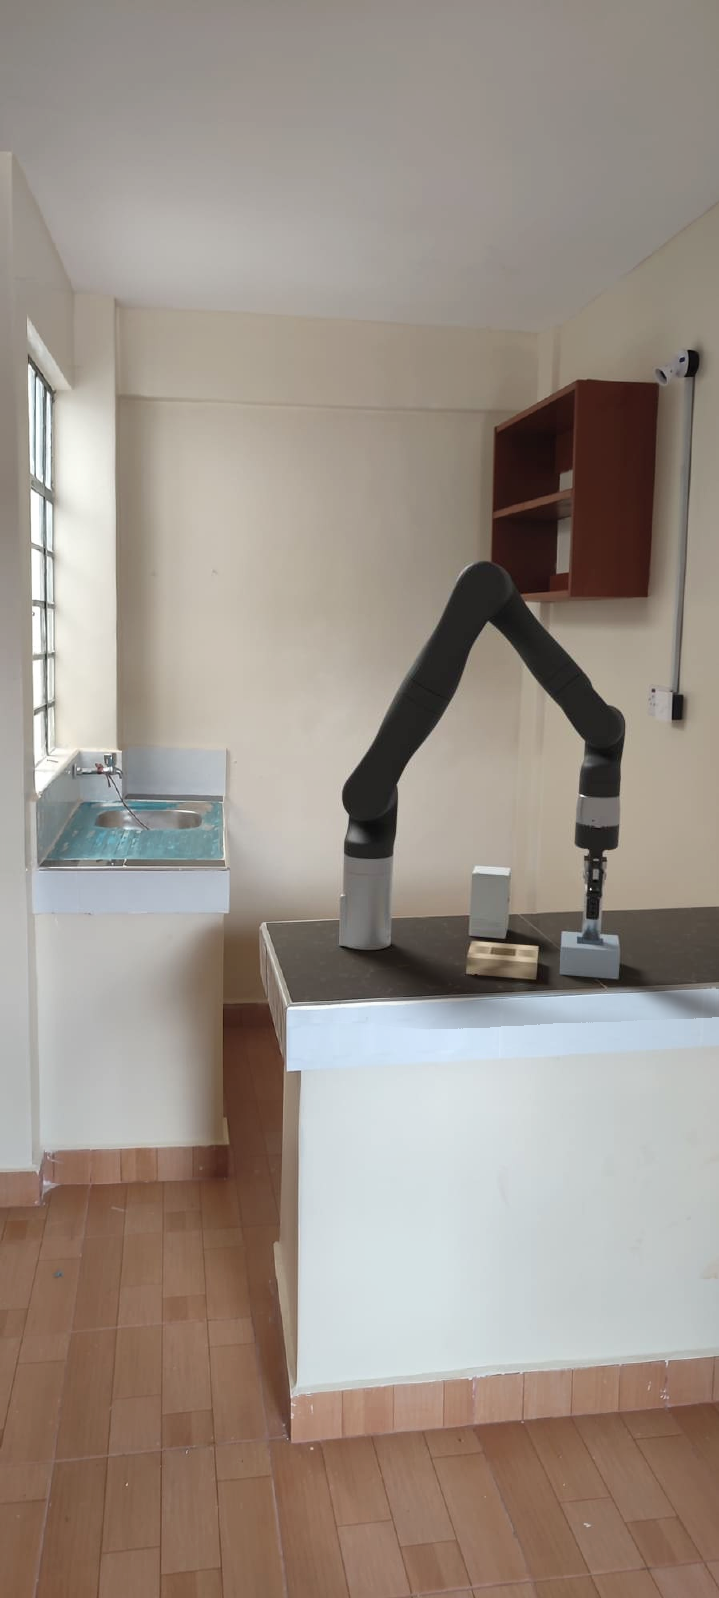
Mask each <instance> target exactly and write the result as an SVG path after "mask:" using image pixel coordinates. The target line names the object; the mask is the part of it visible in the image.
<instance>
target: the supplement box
mask: <svg viewBox="0 0 719 1598" xmlns="http://www.w3.org/2000/svg"><path fill="white" fill-rule="evenodd" d="M511 878H512V868H511V867H502V866H487V865H486V866H484V865H483V866H482V865H475V866H474V867H473V870H472V873H471V884H470V904H469V926H468V936H470V937H480V938H493V939H503V940H504V939H506V936H507V932H508V929H509V916H510V898H511V897H510V896H511Z"/></svg>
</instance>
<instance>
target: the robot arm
mask: <svg viewBox="0 0 719 1598" xmlns="http://www.w3.org/2000/svg"><path fill="white" fill-rule="evenodd" d="M441 613H442V614H441V616H440V617H439V620H438V622H437V624H436V626H435V627H434V629H433V631H432V632H431V634H430V635H429V637H428V639H427V640H426V642H425V643H424V645H423V646H422V647H421V649H420V651H419V653H418V654H417V657H415V659H414V661H413V663H412V665H411V666H410V668H409V670H408V671H407V673H406V674H405V677H404V678H403V680H402V682H401V683H400V685H399V687H398V689H397V691H396V693H395V695H394V697H393V699H392V701H391V703H390V705H389V707H388V709H387V711H386V713H385V715H384V717H383V720H382V722H381V724H380V726H379V728H378V730H377V733H376V735H375V738H374V739H373V741H372V743H371V744H370V746H369V748H368V750H367V751H366V753H365V754H364V756H363V757H362V758H361V760H360V761H359V763H358V764H357V766H355V768H354V770H353V771H352V772H351V774H350V775H349V776H348V778H347V780H345V783H344V785H343V787H342V791H341V801H342V807H343V808H344V810H345V812H346V813H347V815H348V822H347V823H348V824H347V830H346V834H345V836H344V840H343V872H342V873H343V875H342V876H343V877H342V879H343V880H342V894H341V895H340V896H339V923H338V924H339V925H338V926H339V927H338V928H339V930H338V931H339V932H338V933H339V934H338V939H339V940H338V946H342V947H346V948H349V949H353V950H362V951H376V950H381V949H385V948H387V947H390V946H391V937H392V908H393V907H392V906H393V877H394V876H393V875H394V848H395V841H396V836H397V828H398V827H397V826H398V825H397V824H398V810H399V809H398V807H399V789H398V783H399V781H400V779H401V777H402V775H403V773H404V770H405V769H406V767H407V765H408V763H409V762H410V760H411V759H412V757H413V756H414V755H415V753H416V752H417V751H418V750H419V749H420V747H421V746H422V745H423V743H425V741H426V740H427V738H428V737H429V736H430V735H431V733H432V732H433V730H434V729H435V728H436V726H437V725H438V723H439V721H440V720H441V718H442V717H443V715H444V714H445V712H446V710H447V708H448V706H449V705H450V703H451V702H452V700H453V698H454V696H455V694H456V692H457V690H458V687H459V686H460V684H461V683H460V682H461V680H462V677H463V675H464V674H463V673H464V671H465V667H466V666H467V665H466V664H467V661H468V658H469V655H470V652H471V650H472V648H473V646H474V644H475V643H476V641H477V639H478V637H479V636H480V634H481V633H482V630H484V628H485V626H486V625H487V624H488V623H490V624H491V625H492V626H493V627H494V628H495V629H497V630H498V631H499V632H500V633H501V634H502V635H503V637H505V638H506V640H507V641H508V642H509V643H510V645H512V647H513V648H514V649H515V651H516V653H517V654H518V655H519V657H520V659H521V660H522V662H523V663H524V665H525V666H526V667H527V669H528V670H529V672H530V673H531V675H532V676H533V678H535V680H536V681H537V683H538V684H539V685H540V686H541V687H542V689H543V690H544V691H545V693H546V694H548V695H549V697H550V698H551V699H552V700H553V701H554V702H555V704H557V705H558V706H559V707H560V709H561V710H562V712H563V714H564V715H565V716H566V718H567V720H568V721H569V722H570V724H571V725H572V728H574V730H575V731H576V732H577V734H578V735H579V736H580V737H581V739H583V741H584V749H583V750H584V751H583V752H584V753H583V754H584V756H583V761H582V764H581V766H580V770H579V771H580V772H579V781H578V782H579V783H578V784H579V785H578V797H577V802H576V809H575V826H574V845H575V846H576V847H578V848H579V849H582V850H588V853H587V855H585V854H584V855H583V868H584V871H585V879H584V878H583V879H584V882H583V883H584V885H585V884H586V885H587V892H586V896H587V906H586V918H587V919H590V920H597V919H598V918H599V907H600V899H601V897H602V886H603V887H604V886H605V881H606V880H605V872H606V870H607V868H608V859H607V856H604V852H605V851H613V850H616V849H617V848H618V847H619V839H620V838H619V837H620V835H619V834H620V824H621V823H620V820H621V800H620V799H621V796H620V795H621V780H622V779H621V778H622V776H621V775H622V774H621V770H622V769H621V765H622V759H623V753H624V746H625V739H626V724H627V723H626V720H625V719H626V718H625V717H624V715H623V712H622V711H620V709H619V708H617V707H615V706H613V705H610V704H608V703H606V701H605V700H604V699H603V698H602V696H600V694H599V693H598V692H597V691H596V690H595V688H594V686H593V683H592V681H591V679H590V678H589V676H588V675H587V674H586V672H584V671H583V669H582V668H581V667H580V666H579V665H578V663H577V662H576V661H575V660H574V659H573V658H572V657H571V655H570V654H569V653H568V652H567V651H566V650H565V649H564V647H562V645H561V644H560V643H559V642H558V641H557V640H556V639H555V638H554V637H553V636H552V635H551V634H550V633H549V632H548V631H547V629H546V628H545V627H544V626H543V625H542V623H541V622H540V621H539V620H538V619H537V617H536V616H535V615H534V613H533V611H531V609H530V608H529V606H528V605H527V603H526V601H524V599H523V597H522V595H521V593H520V592H519V590H518V589H517V587H516V585H515V584H514V582H513V580H512V577H511V575H510V573H509V572H508V571H507V570H506V569H505V568H504V567H502V566H501V565H499V564H497V563H495V562H492V561H489V560H477V561H474V562H472V563H470V564H468V565H467V566H465V568H463V569H462V570H461V572H460V574H458V577H457V579H456V581H455V583H454V585H453V588H452V590H451V593H450V595H449V598H448V600H447V602H446V604H445V607H444V609H443V612H441ZM591 887H595V888H598V891H592V890H590V888H591Z"/></svg>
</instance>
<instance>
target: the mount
mask: <svg viewBox="0 0 719 1598" xmlns="http://www.w3.org/2000/svg"><path fill="white" fill-rule="evenodd" d="M538 959H539V946H538V945H528V944H527V945H526V944H514V943H501V942H491V941H490V942H489V941H475V940H471V941H470V945H469V949H468V952H467V955H466V967H465V968H466V971H465V974H466V975H475V974H477V976H489V977H498V978H501V977H502V978H514V979H526V980H535V981H536V980H537V971H538V965H539V964H538V961H539V960H538Z"/></svg>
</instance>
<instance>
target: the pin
mask: <svg viewBox="0 0 719 1598" xmlns="http://www.w3.org/2000/svg"><path fill="white" fill-rule="evenodd" d="M582 878H583V879H585V870H583V873H582ZM606 880H607V872H606V871H605V881H606ZM590 890H592V891H598V888H595V887H591V888H590ZM586 892H587V885H586V884H585V883H584V895H583V897H584V898H583V909H582V910H583V912H582V927H581V931H582V932H581V933H582V939H584V940H587V941H599V940H600V935H601V933H602V931H601V930H602V915H603V913H602V912H603V900H604V899H603V897H604V885H603V886H602V897H601V899H600V907H599V918H598V919H597V920H590V919H587V918H586V906H587V896H586Z"/></svg>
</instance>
